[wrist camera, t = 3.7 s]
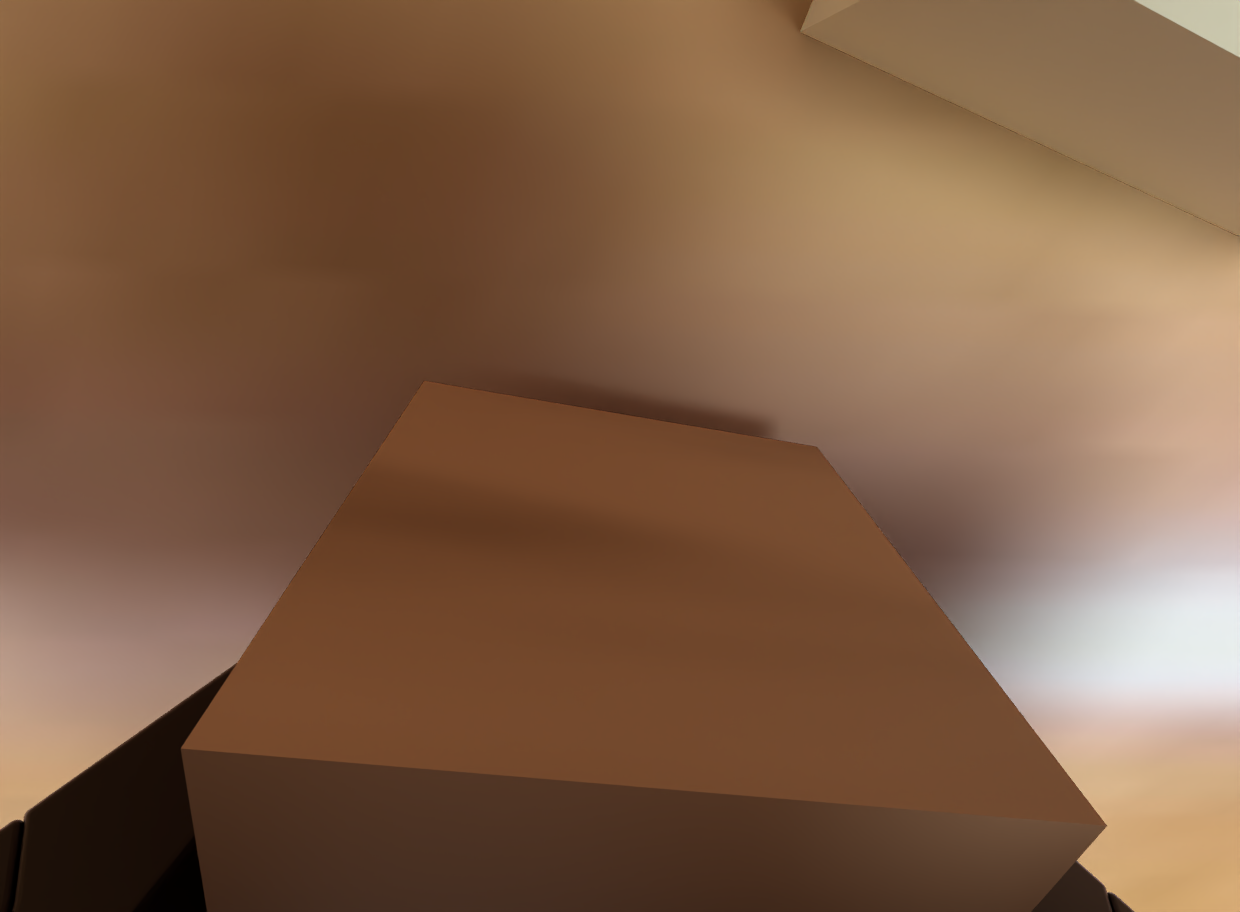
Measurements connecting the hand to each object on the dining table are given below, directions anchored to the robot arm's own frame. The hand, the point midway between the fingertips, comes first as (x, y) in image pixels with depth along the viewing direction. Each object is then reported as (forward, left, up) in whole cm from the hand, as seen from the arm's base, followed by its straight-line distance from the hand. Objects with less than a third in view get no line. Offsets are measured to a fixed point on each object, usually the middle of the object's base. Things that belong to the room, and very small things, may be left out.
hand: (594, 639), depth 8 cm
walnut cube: (0, 0, -1) cm, 1 cm away
